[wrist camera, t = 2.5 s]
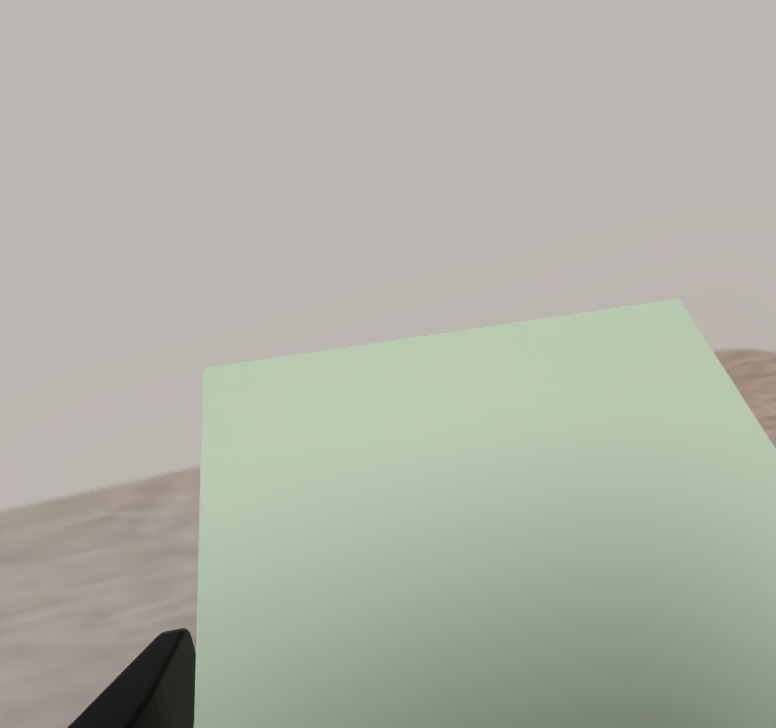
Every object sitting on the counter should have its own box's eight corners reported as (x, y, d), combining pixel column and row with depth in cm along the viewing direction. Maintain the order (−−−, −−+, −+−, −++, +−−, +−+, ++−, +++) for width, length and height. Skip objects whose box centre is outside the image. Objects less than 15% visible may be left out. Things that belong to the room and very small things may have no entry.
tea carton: (540, 729, 13) (1142, 1019, 3) (348, 774, 13) (177, 1356, 2) (485, 531, 16) (679, 298, 6) (326, 561, 16) (203, 367, 5)
